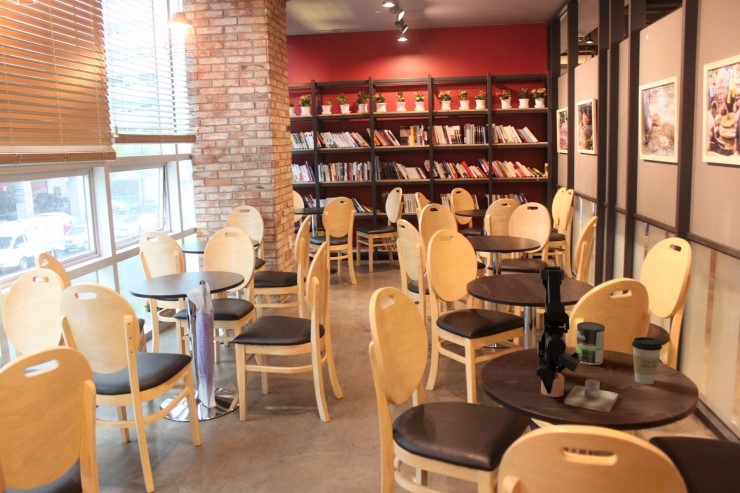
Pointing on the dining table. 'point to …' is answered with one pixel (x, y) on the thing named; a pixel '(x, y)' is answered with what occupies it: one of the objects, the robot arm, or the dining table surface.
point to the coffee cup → (645, 359)
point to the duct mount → (591, 397)
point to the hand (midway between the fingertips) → (552, 389)
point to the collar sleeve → (555, 387)
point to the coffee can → (590, 342)
